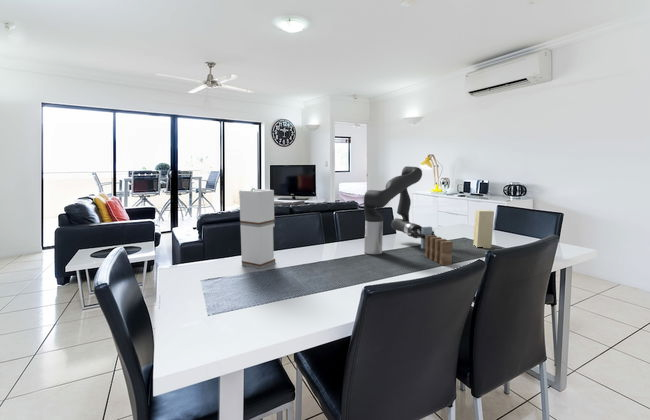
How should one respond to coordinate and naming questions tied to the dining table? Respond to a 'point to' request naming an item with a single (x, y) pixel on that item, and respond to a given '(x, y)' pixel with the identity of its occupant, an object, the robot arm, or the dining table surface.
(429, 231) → the slate domino
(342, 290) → the dining table surface
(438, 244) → the walnut domino
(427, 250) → the walnut domino
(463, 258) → the dining table surface
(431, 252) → the walnut domino
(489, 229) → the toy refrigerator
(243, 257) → the white banded tower
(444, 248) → the walnut domino
